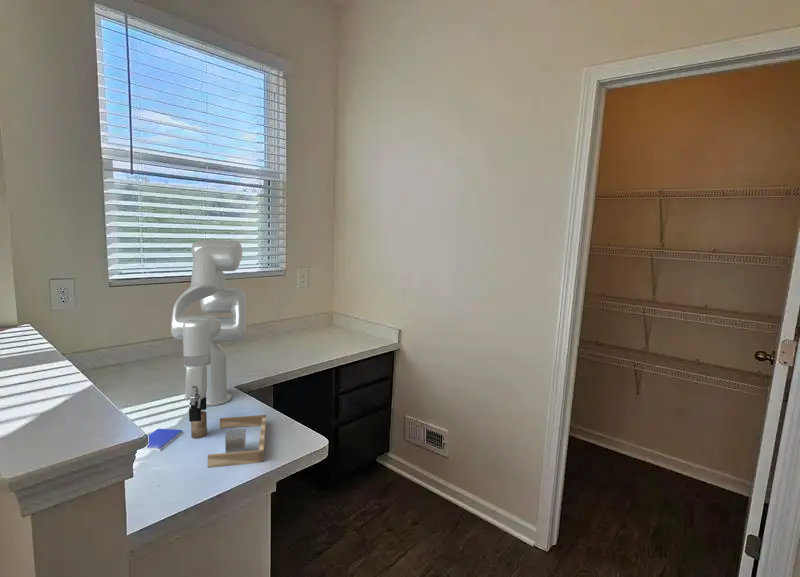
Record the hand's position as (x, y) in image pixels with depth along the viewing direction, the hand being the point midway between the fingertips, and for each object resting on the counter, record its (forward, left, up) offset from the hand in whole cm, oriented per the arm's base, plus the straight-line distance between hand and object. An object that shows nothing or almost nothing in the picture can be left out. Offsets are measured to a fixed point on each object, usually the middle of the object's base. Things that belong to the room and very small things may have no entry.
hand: (198, 415), depth 137 cm
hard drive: (+1, -11, -8) cm, 14 cm away
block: (+13, +12, -7) cm, 19 cm away
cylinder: (-1, 0, -7) cm, 7 cm away
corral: (+7, +12, -7) cm, 16 cm away
